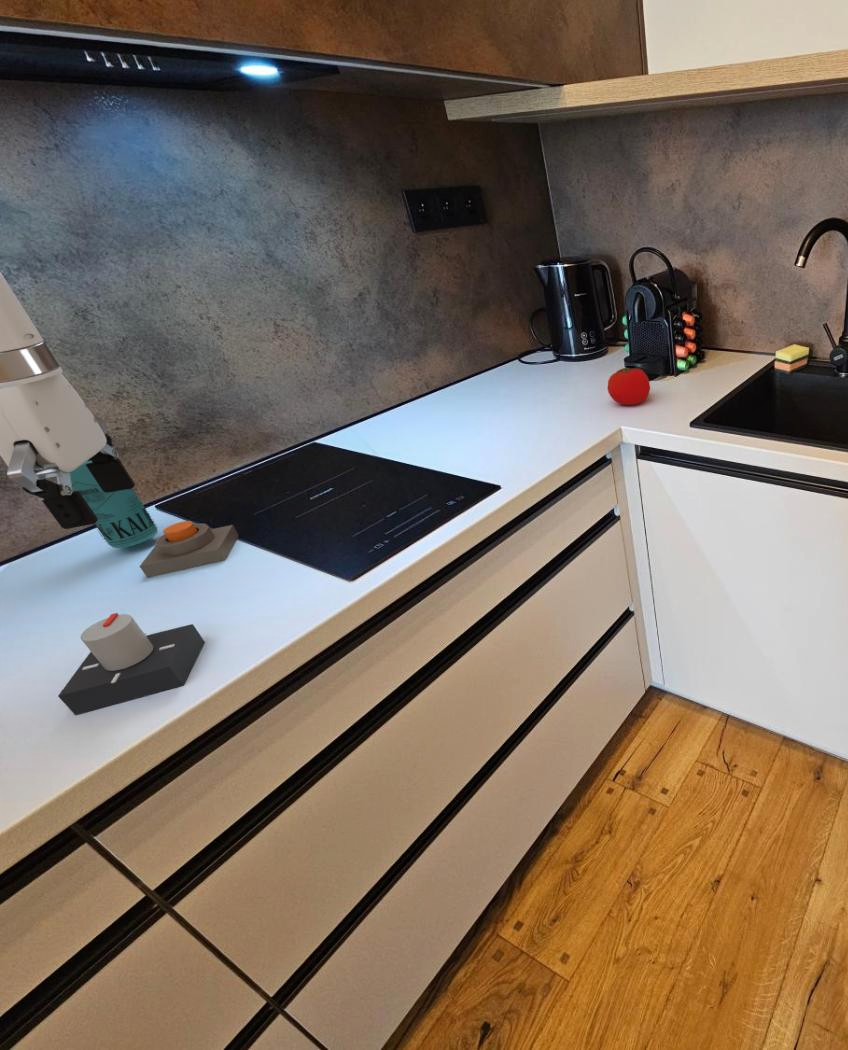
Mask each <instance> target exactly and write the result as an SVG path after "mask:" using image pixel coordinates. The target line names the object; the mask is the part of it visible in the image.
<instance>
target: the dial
mask: <svg viewBox="0 0 848 1050" xmlns="http://www.w3.org/2000/svg"><path fill="white" fill-rule="evenodd" d="M146 635H147V634H146ZM146 635H145V634H144V631H143V630H142V629H141V627H140V626H139V624H138V622H137V621H136V620H135V619H134V617H133V616H132V615H131V614H126V613H124V614H119V613H118V612H115V613H111V614H110V615H109V617H106V618H104V619H101V620H99V621H97V622H94V623H93V624H91V625H90V626H89V627H88V628H85V630H84V631H83V632H82V633H81V634H80V640H81V641H82V642H83V644H84V645H85V646H86V648H88V650H89V651H90V652H92V653H93V655H94V656H95V657H96V658H97V660H98V661H99V662H100V663H101V664H102V666H103V667H104V668H105V669H106V670H109V671H116V670H121V669H125V668H128V667H130V666H133V665H135V664H137V663H139V662H140V661H142V660H143V659H145V658H146V657H147V656H149V655H150V654H151V652H152V651H153V645H152V644H151V642H150V641H149V639H148V638H147V637H146Z"/></svg>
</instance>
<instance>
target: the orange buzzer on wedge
mask: <svg viewBox="0 0 848 1050" xmlns="http://www.w3.org/2000/svg"><path fill="white" fill-rule="evenodd" d="M193 524H194V526H195V528H196V529H197V531H198V533H196V534H195V535H193V536H192V537H189V538H187V539H184V540H181V541H176V542H169V540H168V539H167V537H166V536H165V534H164V533H163V534H162V535H161V536H158V538H157V539H156V540H155V542H154V543H155V546H154V547H153V548H152V549H151V551H150V552H149V553H148V555H147V556H146V557H145V558H144V560H143V561H142V562H141V564H140V565H139V568H140V569H141V570H142V572H143V574H144V575H145V577H146V578H147V579H150V578H155V577H158V576H163V575H168V574H173V573H177V572H180V571H186V570H189V569H194V568H198V567H204V566H208V565H211V564H217V563H222V562H226V560H227V559H228V557H229V555H230V553H231V551H232V550H233V548H234V546H235V545H236V543H237V541H238V539H239V537H240V535H239V533H238V531H237V529H236V527H235V526H234V524H230V525H224V526H220V527H214V528H210V526H209V525H208V524H207V523H193Z"/></svg>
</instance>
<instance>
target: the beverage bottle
mask: <svg viewBox="0 0 848 1050" xmlns="http://www.w3.org/2000/svg"><path fill="white" fill-rule="evenodd" d="M87 463H92V462H89V461H86V462H85V463H83V464H82V465H81V466H79V467H78V468H77V469H75V470H73V471H71V472H70V476H71V483H72V490H73V492H74V491H79V492H80V493H81V495H82V496H83V498H84V499H85V501H86V502H87V504H88V505H89V506H90V508H91V509H92V511H93V512H94V514H95V515H96V517H97V518H98V521H97V522H96V523H95V524H92V525H93V526H94V527H95V529H96V530H97V531H98V534H99V535H100V536H101V538H102V539H103V540H104V542H105V543H106V544H107V545H108V546H110V547H111V548H114V549H124V548H129V547H133V546H136V545H139V544H141V543H145V542H146V541H149V540H150V539H152V538H154V537H155V536H156V535H157V534H158V526H157V524H156V523H155V521H154V518H152V516H151V514H150V512H149V511H148V510H147V508H146V507H147V506H145V504H144V503H143V502H142V501H141V498H140V496H139V495H138V494H137V492H136V490H135V489H133V488H131V489H126V490H120V491H115V492H109V493H106V492H104V491H103V490H102V489H101V487H100V486H99V484H98V483H97V481H96V480H95V478H94V477H93V475H92V474H91V472H90V471H89V469H88V468H87V466H86V464H87ZM54 467H57V466H54Z"/></svg>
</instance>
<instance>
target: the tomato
mask: <svg viewBox="0 0 848 1050" xmlns="http://www.w3.org/2000/svg"><path fill="white" fill-rule="evenodd" d="M606 389H607V393H608V394H609V396H610V397H611V399H612V400H613V401H614V402H615V403H617V404H619V405H624V406H625V405H626V406H635V405H639V404H640V403H641V404H642V402H643V403H644V401H645V400H647V398H648V397H649V395H650V391H651V384H650V379H649V377H648V375H647V374H646V372H644V370H643V369H641V368H636V367H634V368H630V367H623V368H621V369H618V370H617V371H616V372H614V373H612V375H610V376H609V378H608V381H607V388H606Z"/></svg>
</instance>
